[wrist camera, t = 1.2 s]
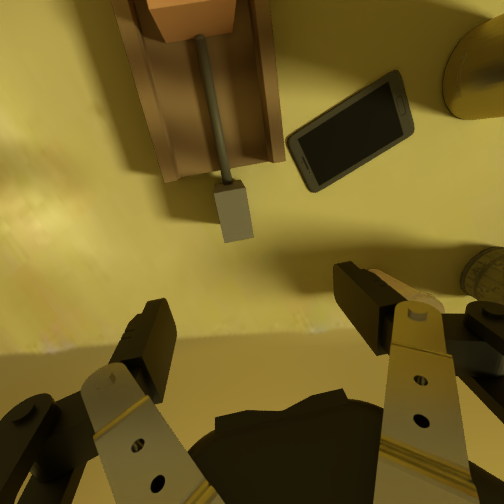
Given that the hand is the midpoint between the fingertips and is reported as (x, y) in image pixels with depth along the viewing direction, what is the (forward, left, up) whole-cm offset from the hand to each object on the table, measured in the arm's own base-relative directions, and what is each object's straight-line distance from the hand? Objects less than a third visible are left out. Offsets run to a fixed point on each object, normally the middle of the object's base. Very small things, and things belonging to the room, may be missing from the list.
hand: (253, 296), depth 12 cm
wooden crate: (0, -14, -20) cm, 25 cm away
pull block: (0, -10, -20) cm, 22 cm away
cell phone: (-15, -5, -21) cm, 26 cm away
